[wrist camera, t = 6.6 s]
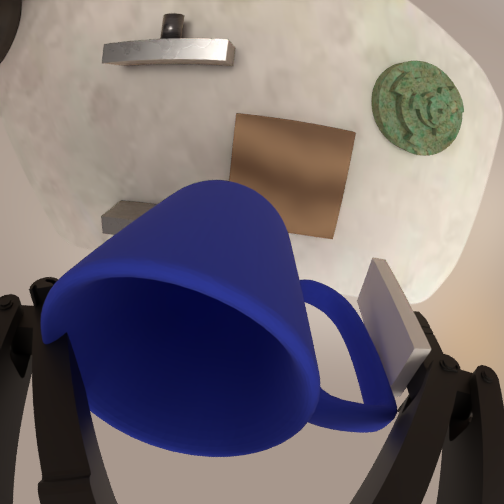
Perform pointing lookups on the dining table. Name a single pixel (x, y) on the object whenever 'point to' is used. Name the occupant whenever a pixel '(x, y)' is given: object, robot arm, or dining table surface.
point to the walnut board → (294, 169)
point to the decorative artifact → (417, 107)
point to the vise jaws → (160, 52)
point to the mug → (209, 330)
